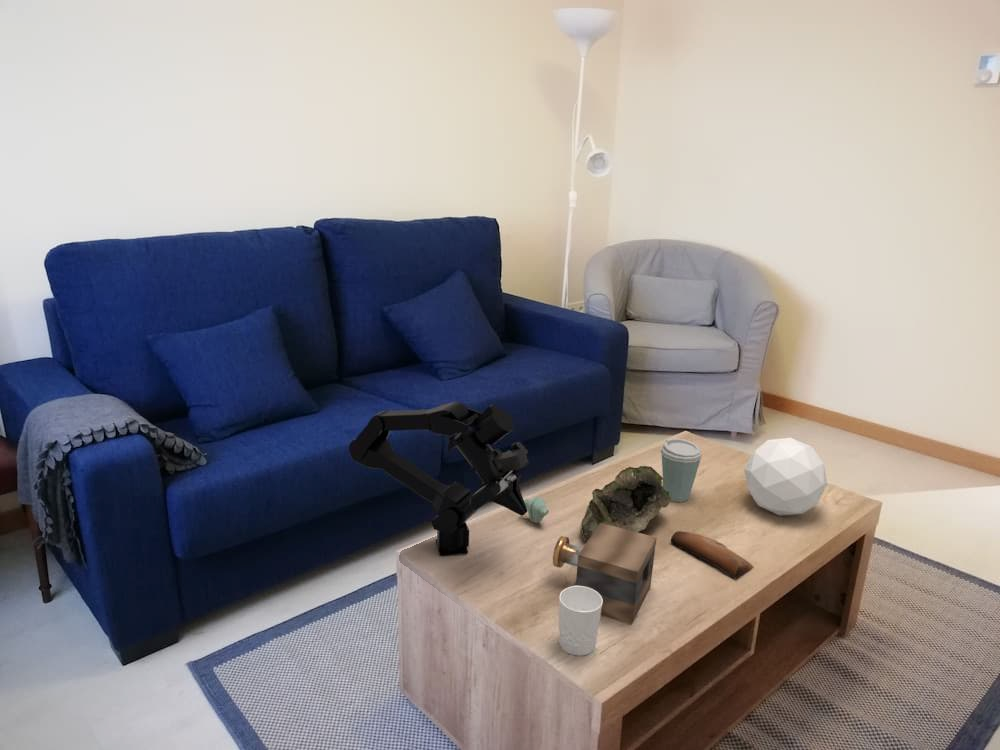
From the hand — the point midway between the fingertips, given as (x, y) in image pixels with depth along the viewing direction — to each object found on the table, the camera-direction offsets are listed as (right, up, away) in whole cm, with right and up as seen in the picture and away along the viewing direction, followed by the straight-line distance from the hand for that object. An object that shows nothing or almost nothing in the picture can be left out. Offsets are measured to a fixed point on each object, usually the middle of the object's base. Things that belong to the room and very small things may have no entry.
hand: (524, 513), depth 155 cm
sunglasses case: (+43, -13, +13) cm, 47 cm away
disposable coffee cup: (+41, -3, +39) cm, 56 cm away
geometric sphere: (+67, -6, +35) cm, 75 cm away
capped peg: (+12, -12, -2) cm, 17 cm away
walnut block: (+18, -16, -4) cm, 25 cm away
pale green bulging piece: (+3, -7, +24) cm, 25 cm away
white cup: (+9, -21, -18) cm, 29 cm away
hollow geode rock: (+25, -8, +23) cm, 35 cm away
